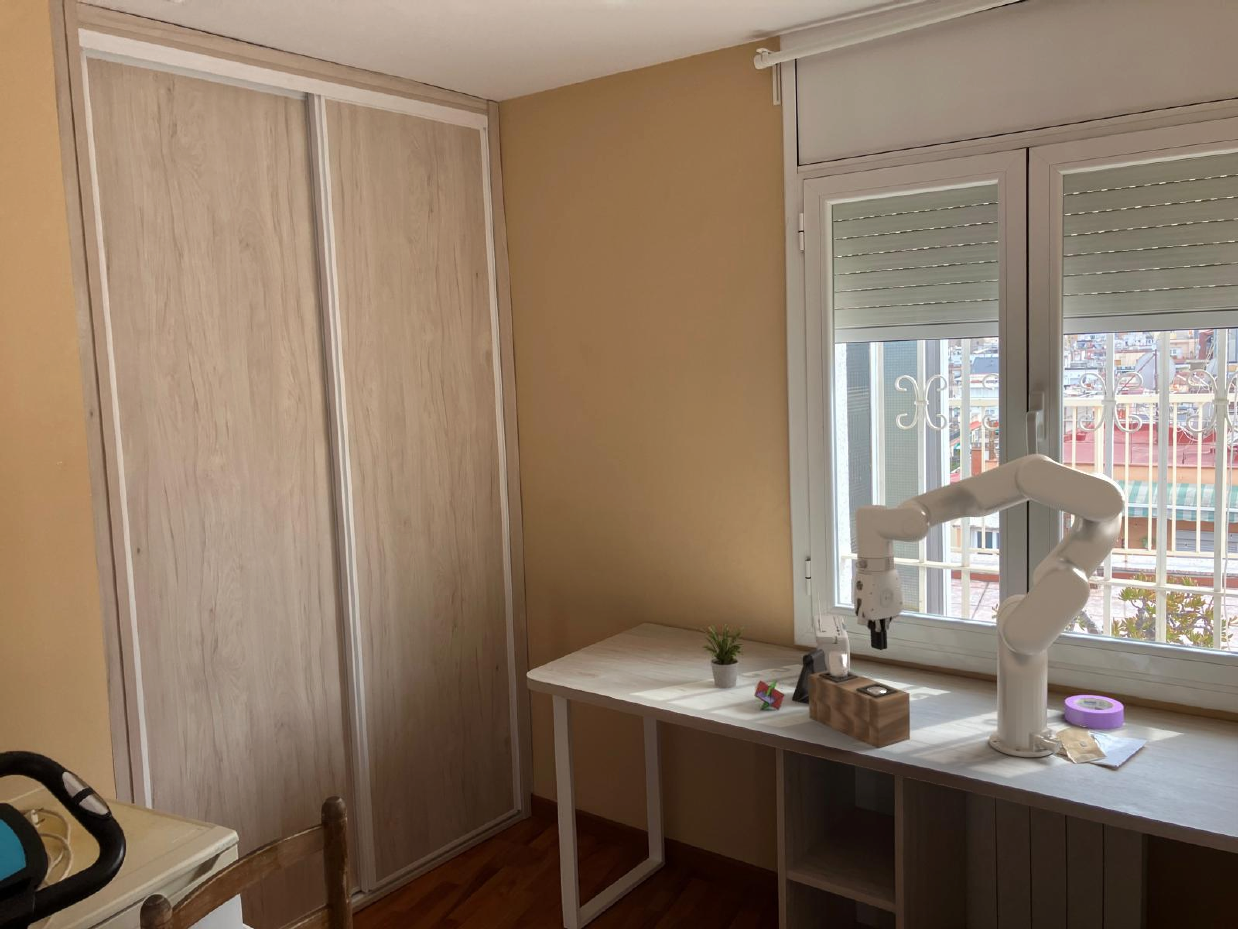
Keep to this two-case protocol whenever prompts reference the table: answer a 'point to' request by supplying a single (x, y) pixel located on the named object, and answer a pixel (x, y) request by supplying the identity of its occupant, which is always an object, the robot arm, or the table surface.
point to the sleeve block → (860, 708)
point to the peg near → (876, 690)
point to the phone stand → (811, 665)
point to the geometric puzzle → (768, 694)
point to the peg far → (838, 665)
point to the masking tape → (1094, 711)
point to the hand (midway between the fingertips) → (879, 648)
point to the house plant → (724, 658)
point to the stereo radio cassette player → (831, 635)
